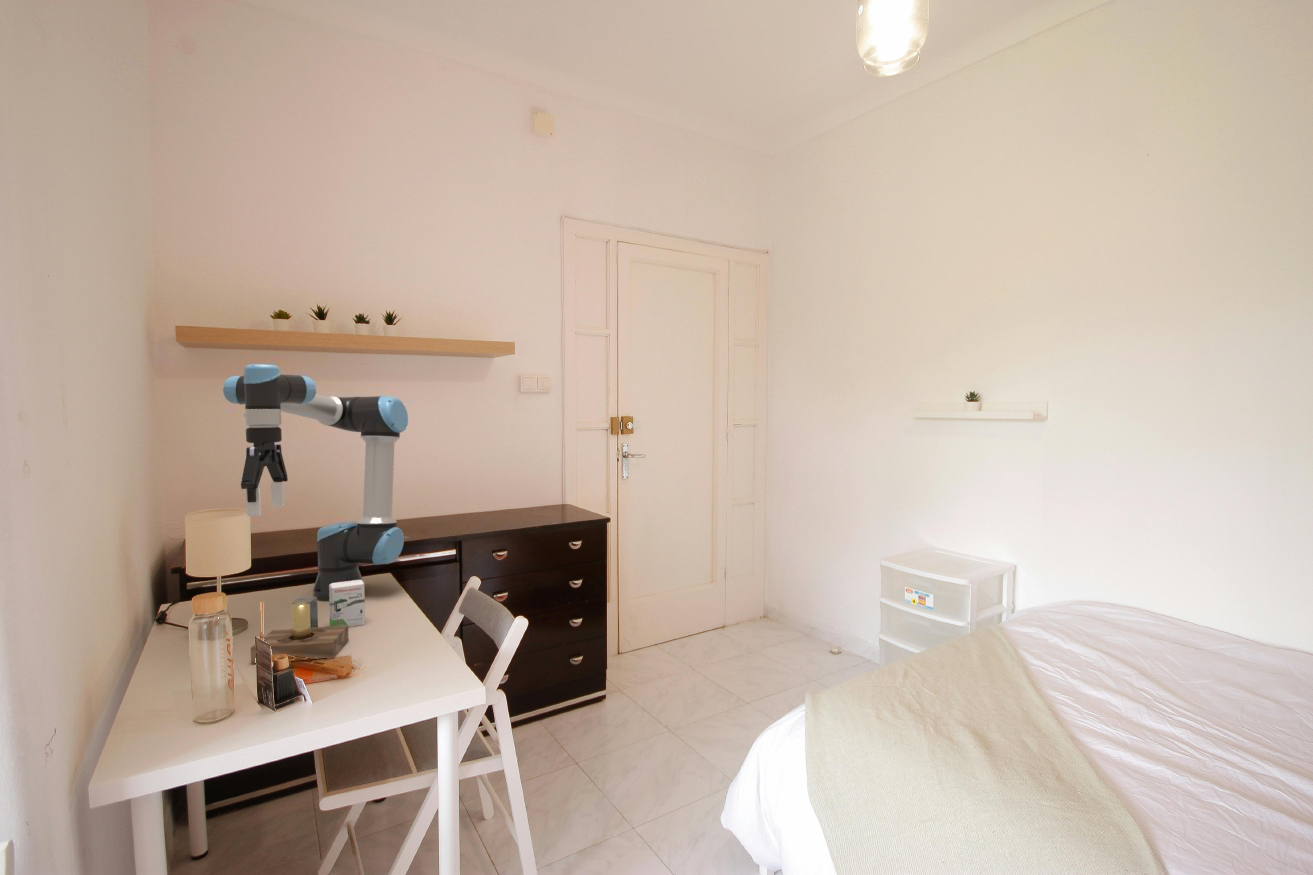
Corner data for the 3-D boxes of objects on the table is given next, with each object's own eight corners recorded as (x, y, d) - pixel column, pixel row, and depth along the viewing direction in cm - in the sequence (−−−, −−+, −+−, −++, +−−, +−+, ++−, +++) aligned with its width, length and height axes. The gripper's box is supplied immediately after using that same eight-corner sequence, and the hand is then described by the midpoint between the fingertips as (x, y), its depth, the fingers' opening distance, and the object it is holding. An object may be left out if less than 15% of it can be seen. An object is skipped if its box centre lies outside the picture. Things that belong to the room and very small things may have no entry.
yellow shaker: (296, 649, 156) (295, 602, 156) (313, 648, 157) (312, 601, 156) (290, 655, 152) (288, 607, 152) (307, 654, 153) (306, 606, 152)
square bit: (300, 634, 167) (298, 597, 166) (318, 633, 167) (317, 596, 167) (293, 640, 162) (292, 602, 162) (312, 639, 163) (310, 601, 163)
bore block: (273, 645, 159) (272, 630, 159) (348, 640, 162) (348, 625, 162) (251, 664, 147) (250, 647, 147) (332, 658, 150) (332, 642, 150)
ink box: (331, 630, 170) (330, 587, 169) (329, 625, 174) (328, 583, 173) (366, 624, 174) (364, 582, 174) (363, 619, 179) (362, 578, 178)
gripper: (269, 425, 167) (271, 504, 168) (221, 428, 143) (224, 520, 143) (299, 425, 168) (302, 503, 169) (257, 427, 144) (260, 518, 145)
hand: (266, 511), depth 156 cm, fingers open, 13 cm apart
